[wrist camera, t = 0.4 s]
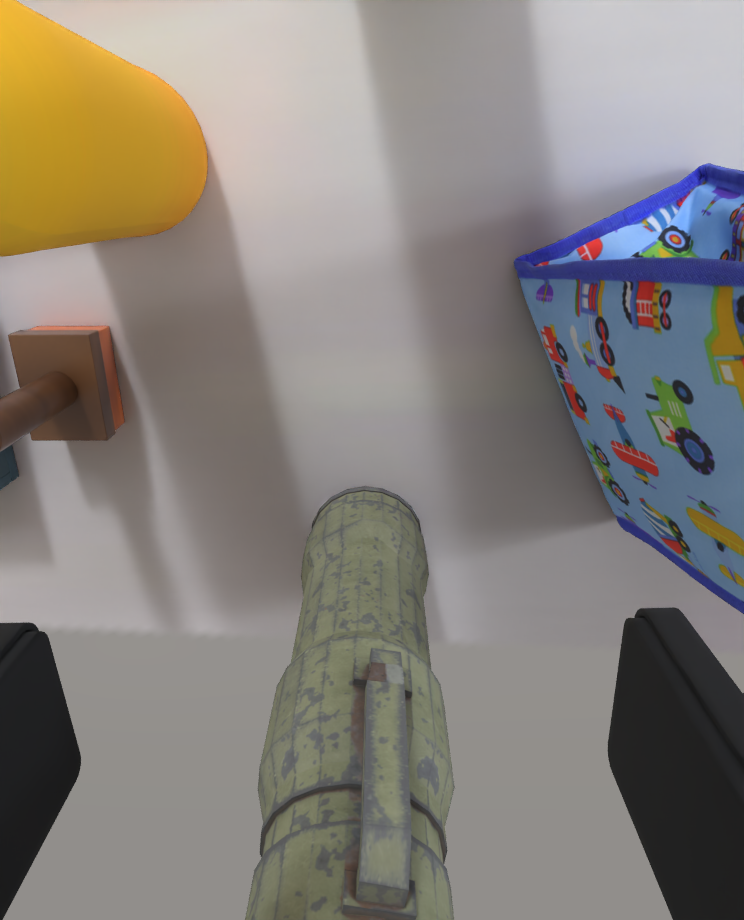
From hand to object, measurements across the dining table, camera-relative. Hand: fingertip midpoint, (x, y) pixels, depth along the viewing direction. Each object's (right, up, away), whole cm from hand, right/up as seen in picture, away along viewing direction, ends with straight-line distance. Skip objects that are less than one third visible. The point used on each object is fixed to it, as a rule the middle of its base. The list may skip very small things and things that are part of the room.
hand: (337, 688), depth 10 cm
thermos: (0, -2, +39) cm, 39 cm away
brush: (-20, +10, +34) cm, 41 cm away
